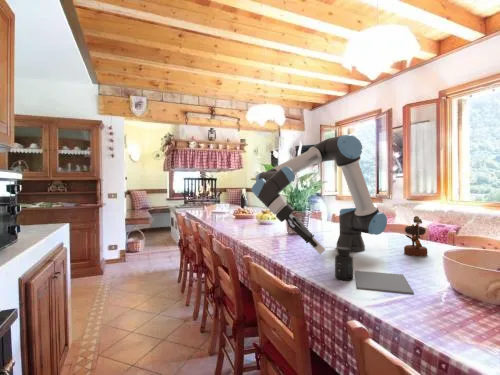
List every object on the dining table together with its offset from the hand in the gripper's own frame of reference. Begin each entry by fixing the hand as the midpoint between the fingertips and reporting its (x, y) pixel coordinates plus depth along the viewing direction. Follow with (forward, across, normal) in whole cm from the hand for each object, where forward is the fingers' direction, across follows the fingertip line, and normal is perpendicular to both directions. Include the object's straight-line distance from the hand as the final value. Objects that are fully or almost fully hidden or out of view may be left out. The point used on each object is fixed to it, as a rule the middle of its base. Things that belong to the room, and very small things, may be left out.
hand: (322, 251), depth 116 cm
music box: (+37, -51, +23) cm, 67 cm away
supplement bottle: (+13, 0, -2) cm, 13 cm away
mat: (+22, 0, +8) cm, 24 cm away
